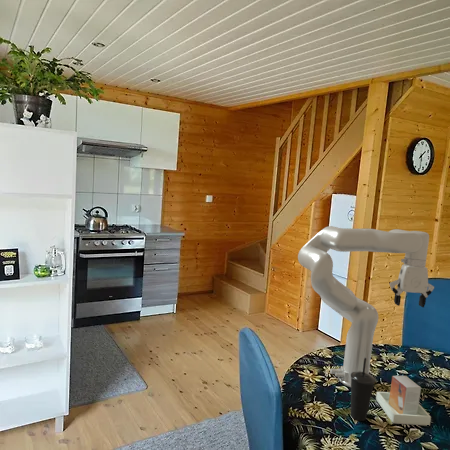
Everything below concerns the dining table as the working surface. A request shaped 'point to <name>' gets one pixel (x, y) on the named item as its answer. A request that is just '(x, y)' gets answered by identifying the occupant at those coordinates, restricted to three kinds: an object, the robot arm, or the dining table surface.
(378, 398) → the tray
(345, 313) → the robot arm
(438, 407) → the dining table surface
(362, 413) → the drinking cup
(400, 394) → the small box
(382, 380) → the dining table surface
